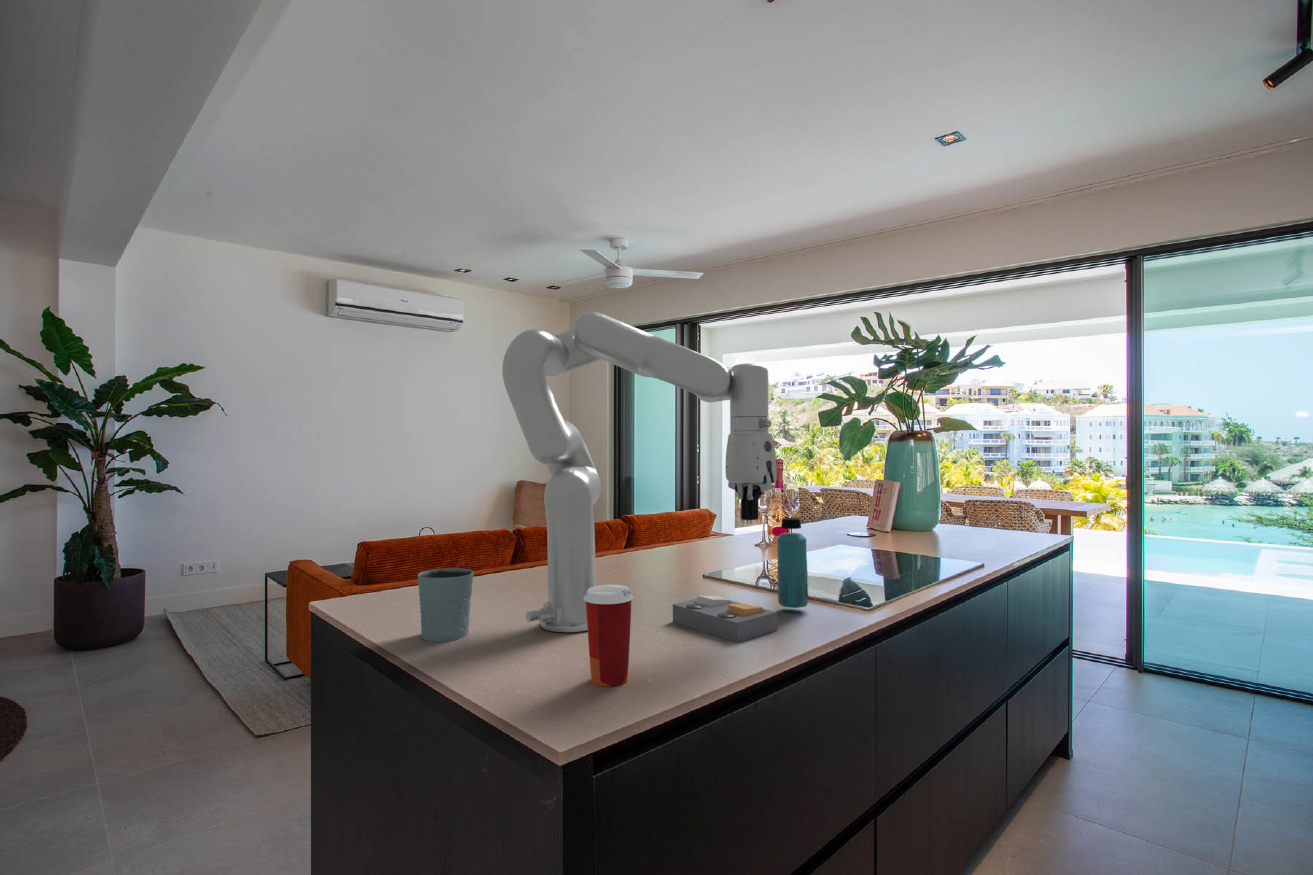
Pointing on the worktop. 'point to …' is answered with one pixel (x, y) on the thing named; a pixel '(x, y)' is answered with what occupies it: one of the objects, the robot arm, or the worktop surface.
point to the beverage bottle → (792, 566)
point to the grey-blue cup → (445, 603)
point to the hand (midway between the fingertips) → (749, 519)
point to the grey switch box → (724, 620)
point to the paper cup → (609, 633)
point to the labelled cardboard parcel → (744, 609)
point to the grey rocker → (711, 601)
